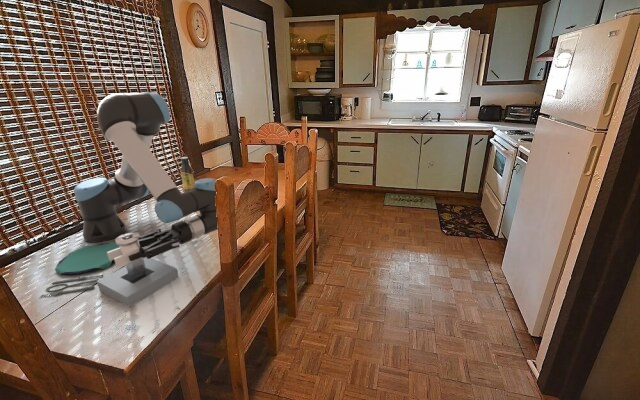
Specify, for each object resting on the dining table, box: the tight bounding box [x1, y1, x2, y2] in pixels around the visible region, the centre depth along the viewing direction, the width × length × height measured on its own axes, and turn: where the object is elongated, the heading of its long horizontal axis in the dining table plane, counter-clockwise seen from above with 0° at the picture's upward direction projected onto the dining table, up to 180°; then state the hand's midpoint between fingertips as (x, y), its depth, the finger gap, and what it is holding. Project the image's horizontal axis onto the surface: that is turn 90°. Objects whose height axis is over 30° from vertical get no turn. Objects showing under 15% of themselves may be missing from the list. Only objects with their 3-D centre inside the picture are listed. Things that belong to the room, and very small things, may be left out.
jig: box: [96, 257, 179, 308], centre depth 96 cm, size 16×16×4 cm
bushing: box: [114, 232, 146, 276], centre depth 92 cm, size 6×6×12 cm
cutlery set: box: [39, 241, 120, 299], centre depth 105 cm, size 20×30×2 cm, turn 14°
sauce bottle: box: [180, 156, 195, 192], centre depth 177 cm, size 6×6×20 cm
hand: (112, 259), depth 88 cm, fingers closed on bushing, 5 cm apart
